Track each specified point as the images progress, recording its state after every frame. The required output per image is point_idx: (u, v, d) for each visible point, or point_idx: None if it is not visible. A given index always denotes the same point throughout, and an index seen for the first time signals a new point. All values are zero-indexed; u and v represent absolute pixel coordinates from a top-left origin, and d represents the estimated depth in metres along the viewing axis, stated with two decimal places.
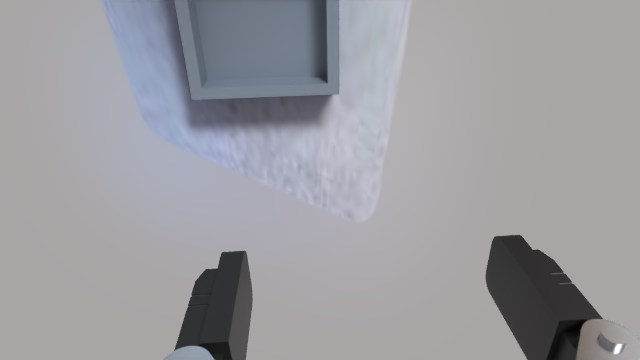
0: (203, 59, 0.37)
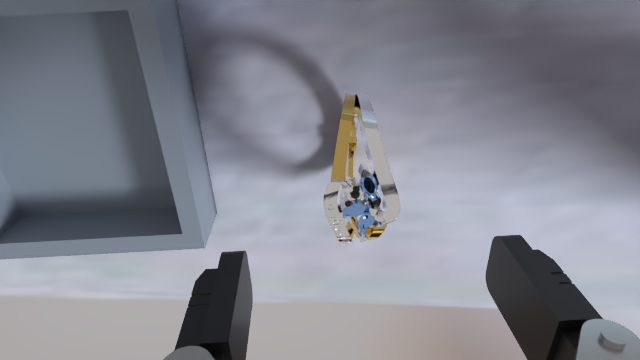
0: None
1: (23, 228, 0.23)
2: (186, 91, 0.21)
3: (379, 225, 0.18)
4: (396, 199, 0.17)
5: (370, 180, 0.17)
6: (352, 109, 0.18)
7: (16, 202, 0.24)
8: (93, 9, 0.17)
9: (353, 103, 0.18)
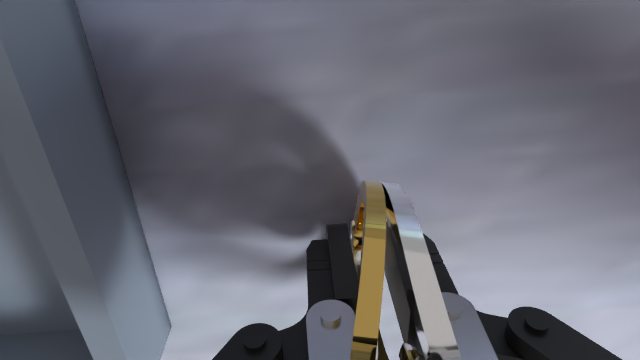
0: None
1: None
2: (105, 172, 0.13)
3: None
4: None
5: None
6: (383, 230, 0.10)
7: None
8: None
9: (384, 215, 0.10)
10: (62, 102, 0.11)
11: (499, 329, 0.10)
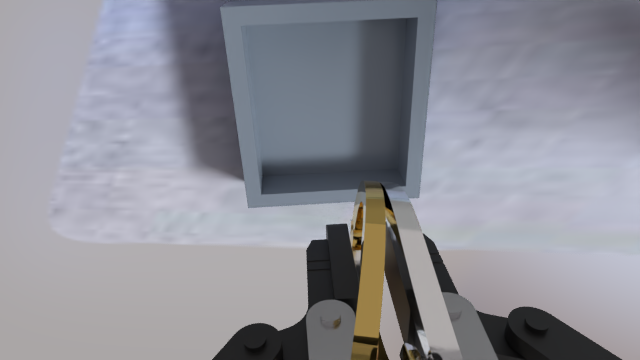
0: None
1: (274, 184, 0.30)
2: None
3: None
4: None
5: None
6: (383, 230, 0.10)
7: (263, 165, 0.30)
8: (394, 17, 0.24)
9: (383, 215, 0.10)
10: None
11: (499, 329, 0.10)
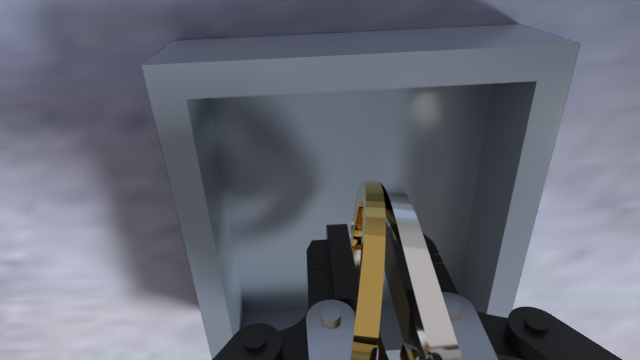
0: None
1: None
2: None
3: None
4: None
5: None
6: (383, 230, 0.10)
7: (243, 296, 0.19)
8: (491, 80, 0.12)
9: (383, 214, 0.10)
10: None
11: (499, 329, 0.10)
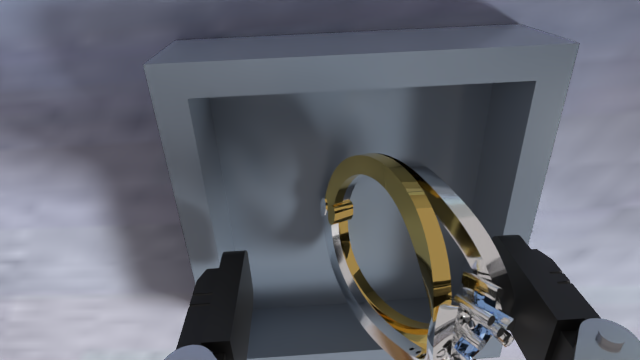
0: None
1: (261, 331, 0.18)
2: None
3: None
4: (512, 303, 0.12)
5: None
6: (419, 188, 0.11)
7: None
8: (490, 80, 0.12)
9: (410, 176, 0.12)
10: None
11: None
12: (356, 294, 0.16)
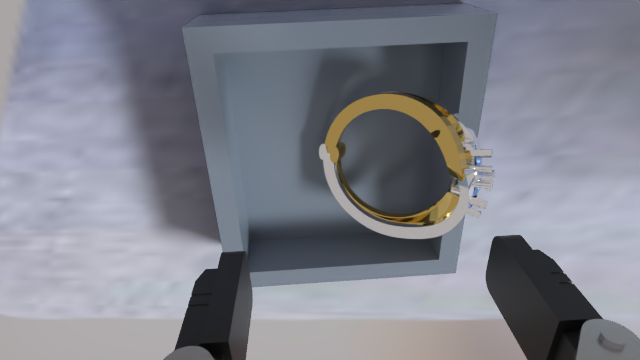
0: None
1: (265, 254, 0.23)
2: None
3: None
4: None
5: (481, 159, 0.18)
6: (429, 103, 0.17)
7: (250, 227, 0.23)
8: (434, 41, 0.16)
9: (419, 98, 0.17)
10: None
11: None
12: (362, 211, 0.21)
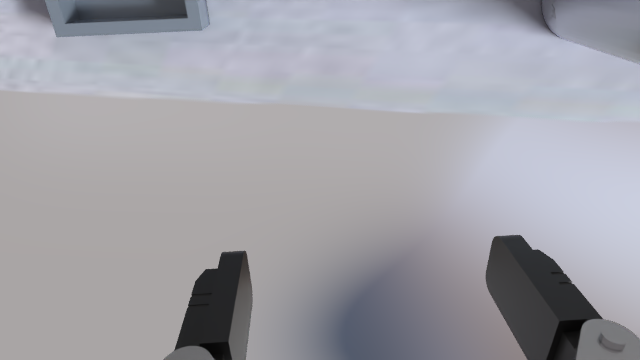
0: None
1: (83, 20, 0.35)
2: None
3: None
4: None
5: None
6: None
7: (77, 7, 0.36)
8: None
9: None
10: None
11: None
12: None
